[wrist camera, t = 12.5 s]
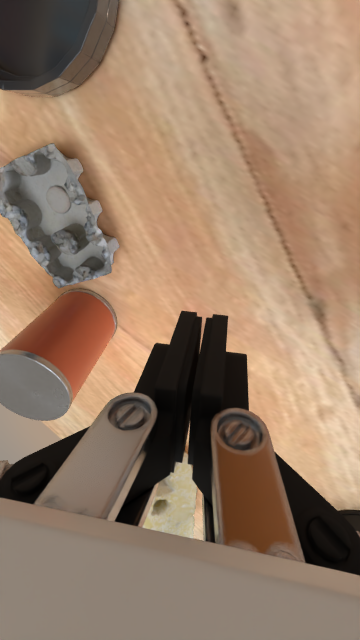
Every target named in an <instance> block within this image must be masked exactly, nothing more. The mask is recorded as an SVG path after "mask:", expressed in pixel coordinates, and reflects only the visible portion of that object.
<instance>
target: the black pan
mask: <svg viewBox="0 0 360 640" xmlns="http://www.w3.org/2000/svg"><path fill="white" fill-rule="evenodd" d="M118 3H119V0H0V89H2V90H5V91H10V92H14V93H18V94H22V95H27V96H31V97H55V96H59V95H61V94H63V93H65V92H67V91H70V90H72V89H74V88H76V87H78V86H80V85H81V84H82V83H83V82H84V81H85V80H86V79H87V77H88V76H89V75H90V74H91V73H92V72H93V71H94V70H95V68H96V67H97V66H98V65H99V64H100V62H101V60H102V57H103V55H104V53H105V50H106V48H107V46H108V43H109V41H110V39H111V36H112V34H113V32H114V28H115V23H116V16H117V10H118Z"/></svg>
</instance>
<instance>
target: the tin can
mask: <svg viewBox="0 0 360 640" xmlns="http://www.w3.org/2000/svg"><path fill="white" fill-rule="evenodd" d="M116 328H117V319H116V315H115V312H114V310H113V309H112V307H111V306H110V304H109V303H108V302H107V301H106V300H105V299H104V298H103V297H101V296H100V295H98V294H96V293H94V292H92V291H89V290H85V289H72V290H68V291H66V292H64V293H63V294H62V295H61V296H60V297H58V299H57V300H56V301H55V302H54V303H52V304H51V305H50V306H49V307H48V308H47V309H46V310H45V311H44V312H42V313H41V314H40V315H39V316H38V317H37V318H36V319H35V320H34V321H32V322H31V323H30V324H29V325H28V326H27V327H26V328H25V329H24V330H22V331H21V332H20V333H19V334H18V335H17V336H16V337H15V338H13V339H12V340H11V341H10V342H9V343H8V344H7V345H6V346H5V347H3V348H2V349H1V350H0V403H1V404H2V405H3V406H5V407H6V408H8V409H9V410H11V411H13V412H15V413H16V414H18V415H21V416H23V417H26V418H30V419H34V420H41V421H48V420H54V419H57V418H60V417H61V416H63V415H64V414H65V413H66V412H67V411H68V409H69V408H70V406H71V404H72V401H73V400H74V398H75V397H76V395H77V393H78V392H79V390H80V388H81V387H82V385H83V383H84V382H85V380H86V379H87V377H88V375H89V374H90V372H91V370H92V369H93V367H94V366H95V364H96V362H97V361H98V359H99V357H100V356H101V354H102V352H103V351H104V349H105V348H106V346H107V344H108V343H109V341H110V339H111V338H112V337H113V335H114V334H115V332H116Z"/></svg>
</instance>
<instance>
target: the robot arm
mask: <svg viewBox="0 0 360 640" xmlns="http://www.w3.org/2000/svg"><path fill="white" fill-rule="evenodd" d="M227 325H228V316H225V315H216V314H213V317H212V318H206V323H205V328H204V334H203V339H202V344H201V349H200V339H201V326H202V317H198V316H197V312H188V311H181V314H180V316H179V319H178V322H177V325H176V328H175V331H174V333H173V336H172V339H171V342H170V345H169V344H161V343H156V344H155V345H154V347H153V349H152V352H151V354H150V356H149V358H148V361H147V363H146V365H145V368H144V370H143V372H142V375H141V377H140V379H139V382H138V384H137V386H136V389H135V391H134V393H125V394H122V395H119V396H117V397H115V398H113V399H112V400H110V401H109V402H108V404H107V405H106V406H105V407H104V408H103V410H102V411H101V412H100V414H99V415H98V417H97V418H96V419H95V421H94V422H93V423H92V425H91V426H90V427H87V428H85V429H83V430H81V431H79V432H77V433H75V434H73V435H71V436H68V437H66V438H64V439H62V440H60V441H58V442H56V443H54V444H51V445H49V446H48V447H45V448H43V449H41V450H39V451H37V452H35V453H33V454H31V455H28V456H27V457H24V458H23V459H21V460H19V461H18V462H16V463H15V464H9V463H8V461H7V460H6V461H0V640H360V532H359V531H356V530H355V529H354V527H353V526H352V525H351V524H350V523H349V522H348V521H347V519H346V518H345V517H344V516H342V515H341V514H340V513H339V512H338V511H337V510H336V509H335V508H334V507H333V506H332V505H331V504H330V503H329V502H328V501H326V500H325V499H324V498H323V497H322V496H321V495H320V494H319V493H318V492H317V491H316V490H315V489H314V488H313V487H312V486H310V485H309V484H308V483H307V482H306V481H305V480H304V479H303V478H302V477H301V476H300V475H299V474H298V473H297V472H296V471H294V470H293V469H292V468H291V467H290V466H289V465H288V464H287V463H286V462H285V461H284V460H283V459H282V458H281V457H280V456H278V455H277V454H276V453H275V452H274V449H273V446H272V442H271V438H270V435H269V431H268V429H267V427H266V425H265V423H264V422H263V421H262V420H261V419H260V417H258V416H257V415H255V414H254V413H252V412H250V411H249V403H248V376H247V355H246V354H241V353H233V352H226V340H227ZM199 353H200V354H199ZM189 423H190V433H189V448H188V464H190V465H193V473H192V480H193V481H194V483H195V484H196V485H197V487H198V488H199V489H200V491H201V492H202V493H203V496H202V509H203V535H204V541H202V540H197V539H193V538H188V537H183V536H179V535H174V534H170V533H165V532H160V531H156V530H151V529H146V528H142V527H143V525H144V522H145V520H146V517H147V515H148V512H149V510H150V507H151V505H152V502H153V500H154V497H155V495H156V492H157V489H158V485H159V482H160V481H162V480H163V479H165V478H166V477H168V476H169V475H170V473H174V469H175V464H176V462H179V463H182V461H183V456H184V451H185V445H186V440H187V434H188V429H189Z"/></svg>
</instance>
